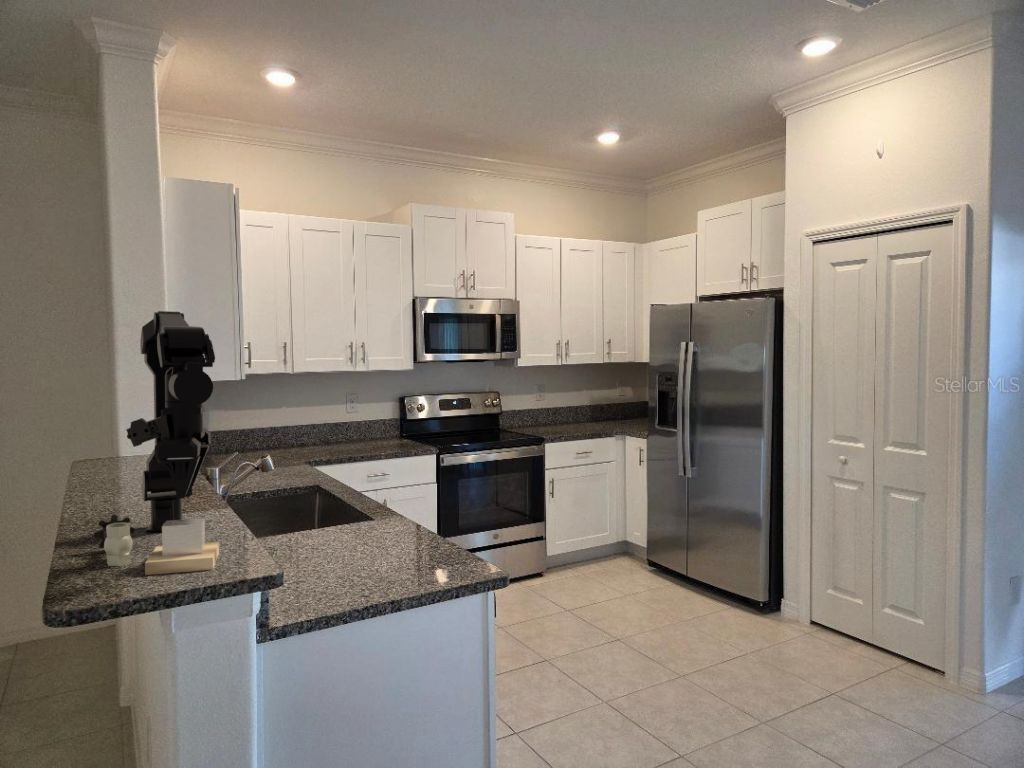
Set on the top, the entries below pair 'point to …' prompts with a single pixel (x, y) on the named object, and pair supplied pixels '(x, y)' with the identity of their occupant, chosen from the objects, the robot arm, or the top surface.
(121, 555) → the valve
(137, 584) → the top surface
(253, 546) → the top surface
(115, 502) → the top surface
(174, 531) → the aluminium block
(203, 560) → the oak plate
